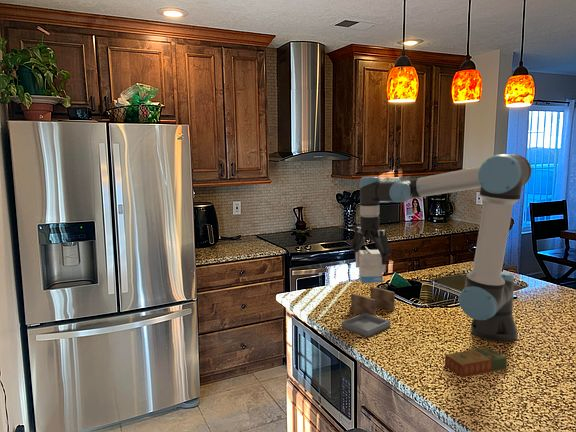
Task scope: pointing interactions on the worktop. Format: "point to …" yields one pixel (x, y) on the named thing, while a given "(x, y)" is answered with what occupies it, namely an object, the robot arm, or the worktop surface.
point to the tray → (366, 324)
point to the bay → (372, 301)
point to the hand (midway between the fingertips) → (370, 269)
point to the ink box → (370, 266)
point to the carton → (475, 362)
